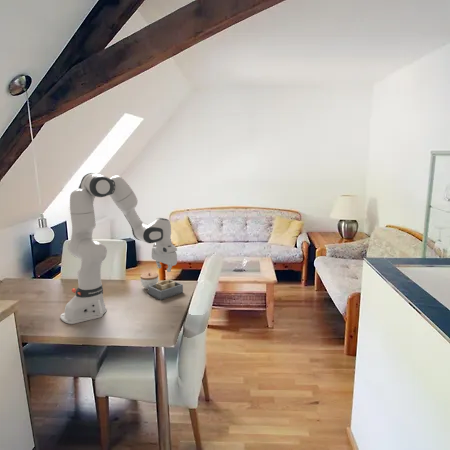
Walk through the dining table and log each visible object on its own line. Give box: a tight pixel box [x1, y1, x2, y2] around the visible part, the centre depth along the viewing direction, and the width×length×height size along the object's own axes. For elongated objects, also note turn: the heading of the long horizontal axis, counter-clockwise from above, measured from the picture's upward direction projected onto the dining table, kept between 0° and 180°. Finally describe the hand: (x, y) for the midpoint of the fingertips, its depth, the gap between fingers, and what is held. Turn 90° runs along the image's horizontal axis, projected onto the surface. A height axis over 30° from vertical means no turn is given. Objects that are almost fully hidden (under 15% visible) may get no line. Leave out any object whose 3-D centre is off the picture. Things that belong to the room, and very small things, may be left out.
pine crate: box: [156, 279, 176, 291], centre depth 230 cm, size 9×6×6 cm, turn 133°
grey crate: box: [147, 279, 184, 301], centre depth 230 cm, size 15×12×5 cm
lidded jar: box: [139, 271, 159, 290], centre depth 240 cm, size 11×11×9 cm
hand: (164, 269), depth 227 cm, fingers open, 8 cm apart
